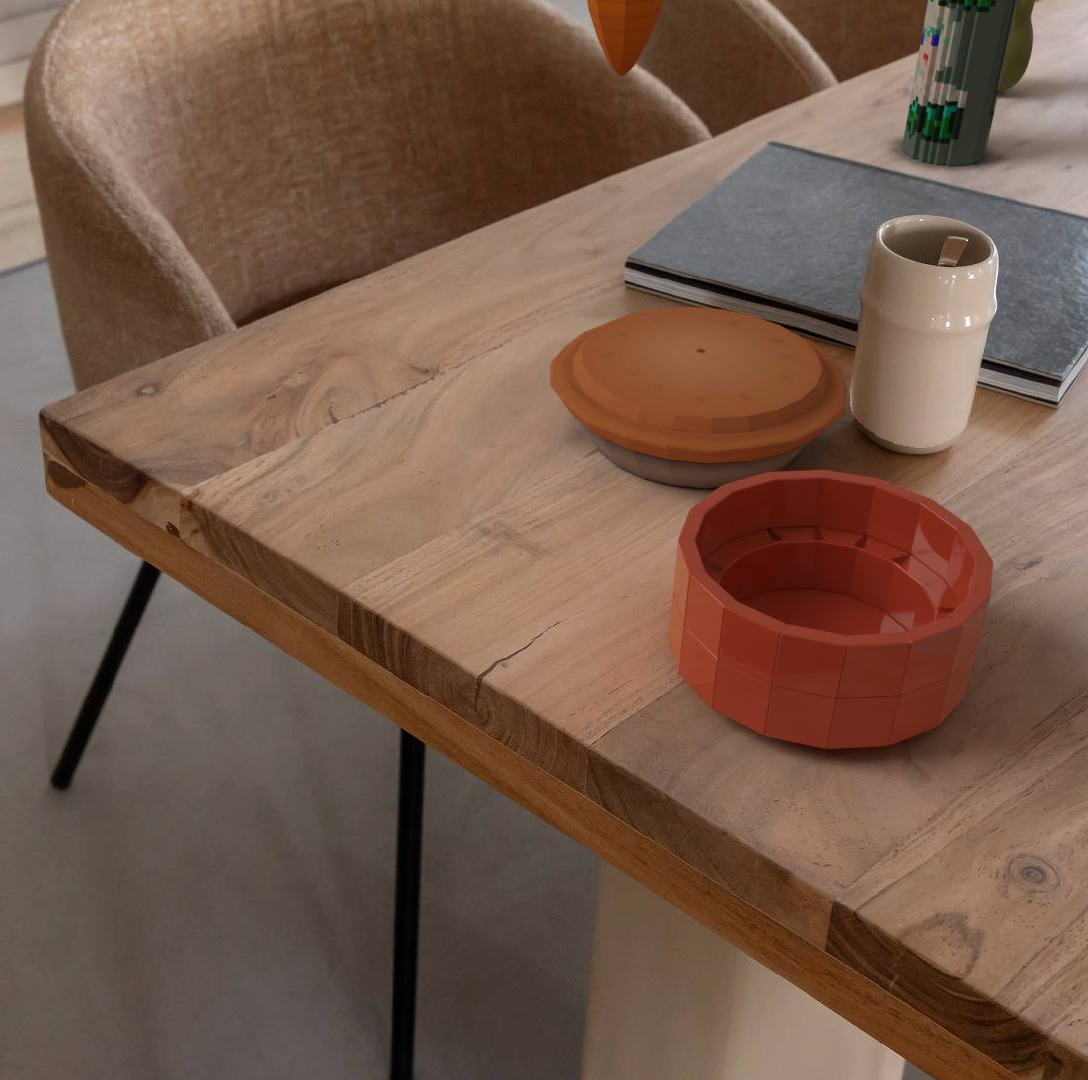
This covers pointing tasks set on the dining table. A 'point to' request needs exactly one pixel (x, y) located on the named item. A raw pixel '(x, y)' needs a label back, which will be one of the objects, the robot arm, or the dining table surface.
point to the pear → (1018, 46)
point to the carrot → (623, 29)
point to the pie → (698, 393)
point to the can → (957, 80)
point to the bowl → (827, 607)
